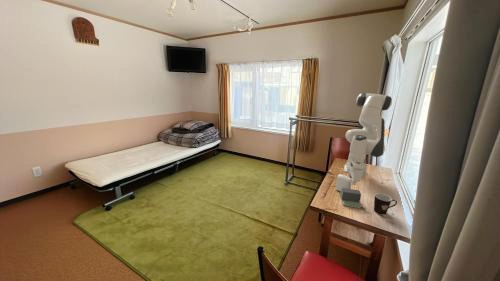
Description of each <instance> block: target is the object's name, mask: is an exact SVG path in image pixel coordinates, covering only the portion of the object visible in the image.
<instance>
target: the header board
mask: <svg viewBox="0 0 500 281" xmlns="http://www.w3.org/2000/svg"><path fill="white" fill-rule="evenodd" d="M339 196H340V199H341V192H339ZM341 202H342V206H346V207H351V208H358V209H361V207H362V206H361V204H360V203H359V202H353V201H346V200H342V199H341Z"/></svg>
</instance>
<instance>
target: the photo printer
mask: <svg viewBox="0 0 500 281" xmlns="http://www.w3.org/2000/svg"><path fill="white" fill-rule="evenodd" d="M352 181H353V179H352V178H350V177H349V176H347V175H345V174H338V175H337V177H336V183H335V190H336V191H338V192H339V193H341V190H342V188H346V189H351V188H352V185H353V184H352Z"/></svg>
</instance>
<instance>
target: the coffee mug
mask: <svg viewBox="0 0 500 281" xmlns="http://www.w3.org/2000/svg"><path fill="white" fill-rule="evenodd" d="M392 202H395V204H392ZM391 204H392V205H391ZM397 204H398V201H397V200H396V199H393V198H392V197H391V196H389V195H387V194H385V193H378V192H377V193H375V194H374V204H373V211H374V212H375V213H376V214H378V215H382V216H386V215H387V213H388V210H389V209H391V208H393V207H394V206H396V205H397ZM390 205H391V206H390Z"/></svg>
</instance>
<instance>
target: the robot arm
mask: <svg viewBox="0 0 500 281" xmlns="http://www.w3.org/2000/svg"><path fill="white" fill-rule="evenodd" d="M392 99H393V98H392V97H391V96H390V95H384V94H379V93H369V92H361V93H359V94H358V96H357V97H356V106H357V107H359V108H362V109H361V112H360V116H359V119H358V122H359V124H360V126H362V128H359V129H358V128H351V129H349V130H347V131H346V132H345V139H346V141H347V142H349V143H350V144H349V154H348V159H347V162H345V164H344V165H343V172H344V173H347V174H349V175H348V177H349V178H350V179H352V184H351V185H352V186H356V184H357V182H361V181H362V177H363V176H365V175H368V172H367V164H366V161H367V159H366V158H367V156H371V157H374V158H379V157H381V156H384V154H385V151H386V146H385V133H386V132H385V129H386V128H385V119H384V118H383V117H382V116H381V112H382V111H387V110H389V109H390V107H391V106H392V104H393V100H392Z"/></svg>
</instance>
